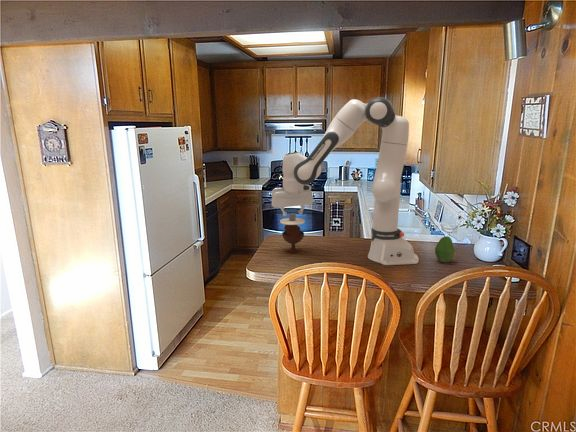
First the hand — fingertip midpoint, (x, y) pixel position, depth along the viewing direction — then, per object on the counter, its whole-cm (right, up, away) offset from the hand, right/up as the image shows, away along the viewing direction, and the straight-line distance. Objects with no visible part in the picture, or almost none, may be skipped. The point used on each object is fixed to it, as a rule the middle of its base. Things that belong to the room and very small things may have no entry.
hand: (292, 215), depth 179 cm
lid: (0, -4, +1) cm, 4 cm away
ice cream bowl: (0, -18, +5) cm, 19 cm away
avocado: (+68, -21, -13) cm, 72 cm away
